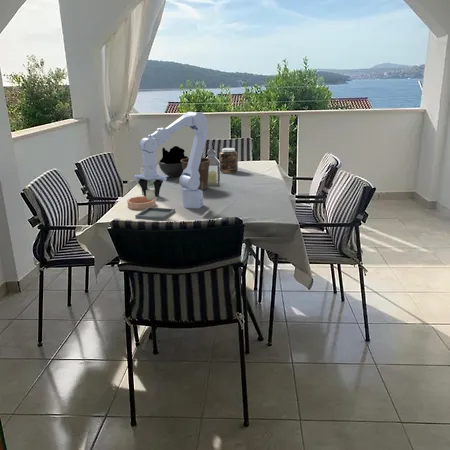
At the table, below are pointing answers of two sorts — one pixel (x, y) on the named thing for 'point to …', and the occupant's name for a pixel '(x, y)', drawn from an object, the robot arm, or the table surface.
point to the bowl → (140, 203)
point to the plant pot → (200, 171)
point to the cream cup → (150, 194)
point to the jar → (228, 160)
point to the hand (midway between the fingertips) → (151, 196)
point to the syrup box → (150, 182)
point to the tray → (155, 213)
